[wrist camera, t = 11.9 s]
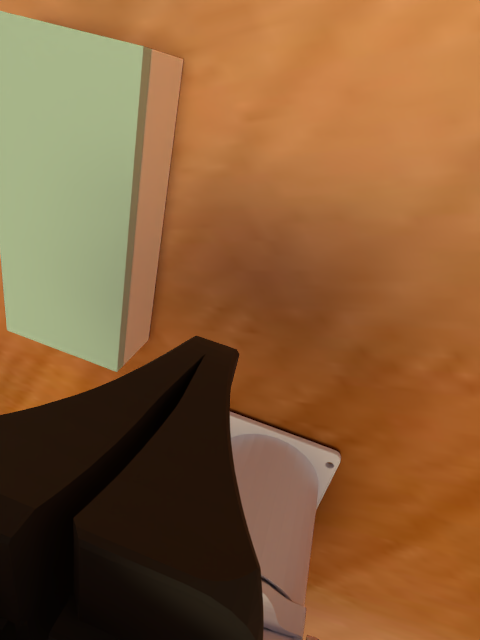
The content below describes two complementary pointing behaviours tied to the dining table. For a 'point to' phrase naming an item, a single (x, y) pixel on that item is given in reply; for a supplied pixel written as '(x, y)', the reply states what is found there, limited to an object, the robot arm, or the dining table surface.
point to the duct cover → (69, 183)
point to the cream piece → (152, 194)
